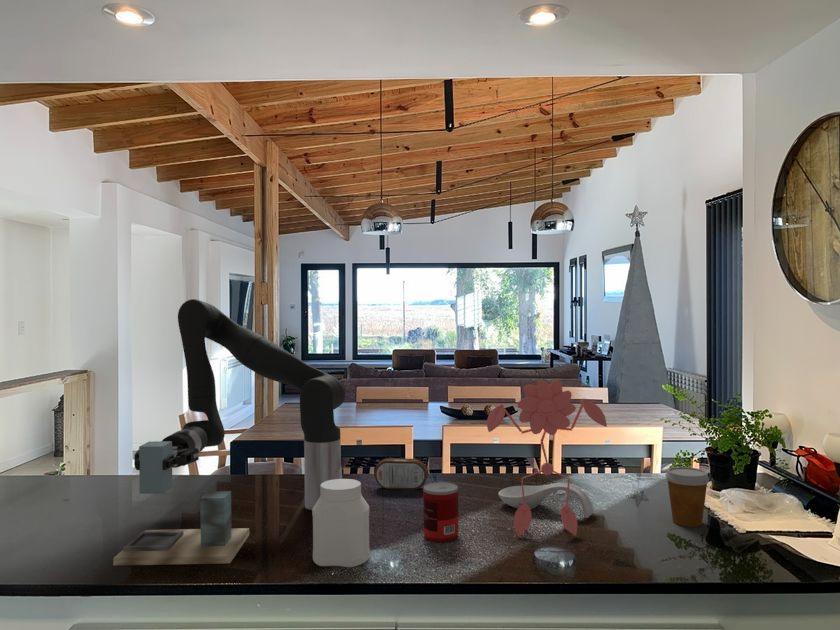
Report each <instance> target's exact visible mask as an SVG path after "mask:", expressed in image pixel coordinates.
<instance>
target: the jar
mask: <svg viewBox="0 0 840 630" xmlns="http://www.w3.org/2000/svg"><path fill="white" fill-rule="evenodd" d="M320 491H321V492H320V494H321V495H320V498H319V499H318V501H317V502H316V504H315V506H314V507H313V509H312V510H311V513H312V514H311V515H312V560H313V562H314V564H316V565H317V566H319V567H344V568H354V567H355V568H356V567H358V566H361V565H363V564H364V563H366V562H367V561H368V560H369V559H370V557H371V553H370V552H371V550H370V505H369V503H368V502H367V501H366V499H365V498H364V497H363V495H362V483H361V481H359V480H357V479H352V478H342V479H334V480H328V481H325V482H323V483H322V484H321V485H320Z"/></svg>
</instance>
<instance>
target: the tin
mask: <svg viewBox="0 0 840 630" xmlns="http://www.w3.org/2000/svg"><path fill="white" fill-rule="evenodd" d="M428 476H429V469H428V468H427V466H426V464H425V463H424V462H423V461H422V460H420V459H417V458H405V457H404V458H399V457H397V458H396V457H387V458H383V459H381V460H380V461H379V462H378V463H377V465H376V466H375V469H374V478H375V481H376V483H377V485H379V486H380V487H381V488H383V489H387V490H409V491H410V490H413V491H414V490H415V491H416V490H419V489H420V488H422V487H424V486H425V485H426V482H427V480H428Z"/></svg>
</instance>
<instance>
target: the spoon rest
mask: <svg viewBox="0 0 840 630" xmlns="http://www.w3.org/2000/svg"><path fill="white" fill-rule="evenodd" d="M523 487H524V498H525V505H526V506H527V505H528V506H529V507H530V509H531V510H532V509H535V508H536V507H538V506H539V504H541V503H542V502H543V501H544V500H546V498H548V497H549V496H550V495H551V494H553V493H555V492H557V491H566V492H567V487H568V482H555V483H550V484H545V485H544V484H543V485H523ZM569 493H571V494H573V496H575V497H577V499H578V500H579V502H580V504H581V507H582V513H583V518H584V519H588V518H590V516H592V515H593V513H594V510H593V504H592V502H591V499H590V497H589V496H588V494H586V493H585V491H584V490H583V489H581V488H579V487H578V486H576V485H574V484H571V483H569ZM498 496H499V499H501V500H502V501H503V502H504V504H506V505H507V506H510V507H511V508H514V509H517V510H518V508H519V507H520V506H522V505H523V494H522V485H514V486H508V487H505V488H503V489H501V490H500V491H498Z"/></svg>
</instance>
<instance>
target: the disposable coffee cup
mask: <svg viewBox="0 0 840 630" xmlns="http://www.w3.org/2000/svg"><path fill="white" fill-rule="evenodd" d="M664 475H665V478H666V480H667V486H668V493H669V500H670V509H671V516H672V522H673V523H674V524H676V525H678V526H682V527H686V528H687V527H689V528H695V527H696V528H697V527H700V526H702V525H703V517H704V511H705V505H706V503H705V502H706V495H707V488H708V483H709V481H710V478H709V475H708V472H707V471H705V470H703V469H701V468H700V469H699V468H695V467H690V466H673V467H669V468H668V469H667V470H666V473H665V474H664Z"/></svg>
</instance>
